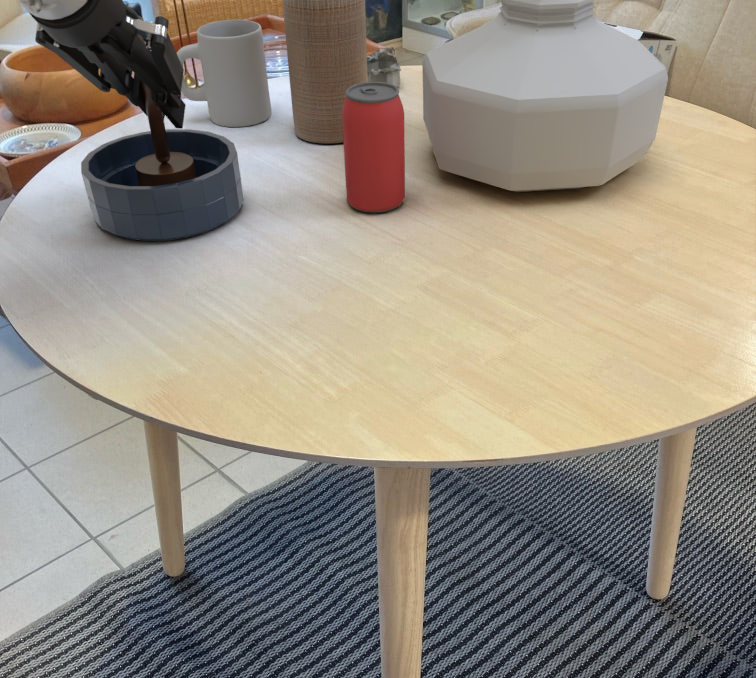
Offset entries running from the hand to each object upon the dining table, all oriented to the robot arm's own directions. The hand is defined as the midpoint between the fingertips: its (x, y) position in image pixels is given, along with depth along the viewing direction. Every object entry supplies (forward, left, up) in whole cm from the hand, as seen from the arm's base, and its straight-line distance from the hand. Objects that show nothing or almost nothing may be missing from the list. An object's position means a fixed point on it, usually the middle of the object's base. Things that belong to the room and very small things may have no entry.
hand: (171, 115), depth 95 cm
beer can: (+16, +16, -9) cm, 25 cm away
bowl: (+4, -4, -8) cm, 10 cm away
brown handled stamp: (+3, -3, -6) cm, 7 cm away
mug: (-19, +14, -9) cm, 25 cm away
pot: (+17, +38, -9) cm, 43 cm away
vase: (-6, +23, -9) cm, 26 cm away
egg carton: (-19, +36, -9) cm, 42 cm away
